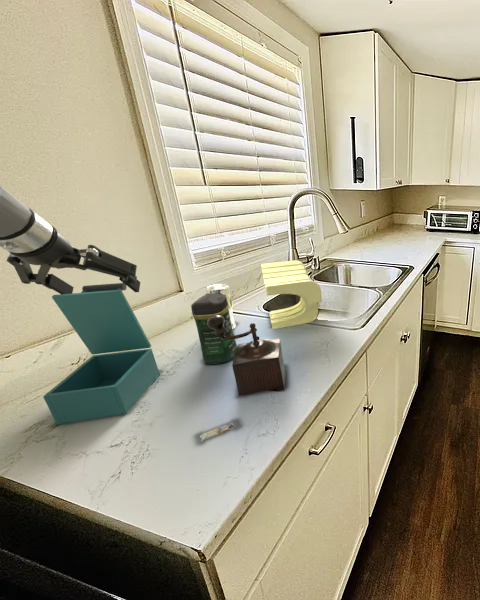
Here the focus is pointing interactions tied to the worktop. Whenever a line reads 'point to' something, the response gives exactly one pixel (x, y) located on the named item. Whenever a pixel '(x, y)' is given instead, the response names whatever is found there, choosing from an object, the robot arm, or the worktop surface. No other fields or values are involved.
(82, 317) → the lunchbox lid
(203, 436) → the granola bar
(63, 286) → the robot arm
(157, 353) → the worktop surface
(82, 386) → the lunchbox
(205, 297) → the coffee jar
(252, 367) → the manual coffee grinder
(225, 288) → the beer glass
